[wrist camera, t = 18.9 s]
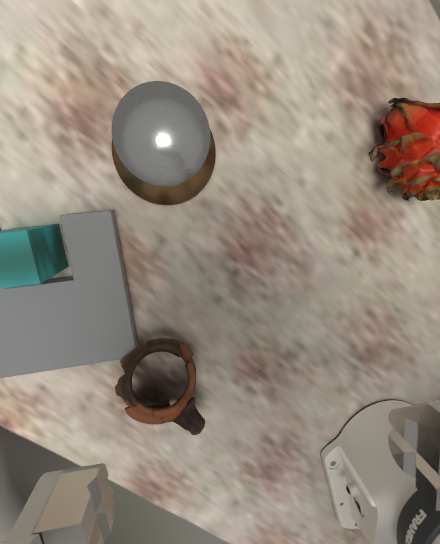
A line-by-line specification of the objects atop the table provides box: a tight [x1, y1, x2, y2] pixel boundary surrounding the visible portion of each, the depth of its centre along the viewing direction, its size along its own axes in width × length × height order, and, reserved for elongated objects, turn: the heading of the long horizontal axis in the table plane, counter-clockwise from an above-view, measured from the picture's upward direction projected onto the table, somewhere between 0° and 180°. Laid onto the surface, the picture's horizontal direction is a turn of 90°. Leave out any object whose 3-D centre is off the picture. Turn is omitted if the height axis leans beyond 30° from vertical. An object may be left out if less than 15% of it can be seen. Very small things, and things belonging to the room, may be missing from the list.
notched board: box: [0, 210, 138, 378], centre depth 31 cm, size 16×16×2 cm
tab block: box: [0, 224, 68, 289], centre depth 28 cm, size 4×4×7 cm
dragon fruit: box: [369, 98, 440, 201], centre depth 31 cm, size 8×8×12 cm
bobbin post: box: [112, 81, 216, 205], centre depth 26 cm, size 10×10×10 cm
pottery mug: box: [115, 338, 205, 435], centre depth 34 cm, size 12×10×8 cm
